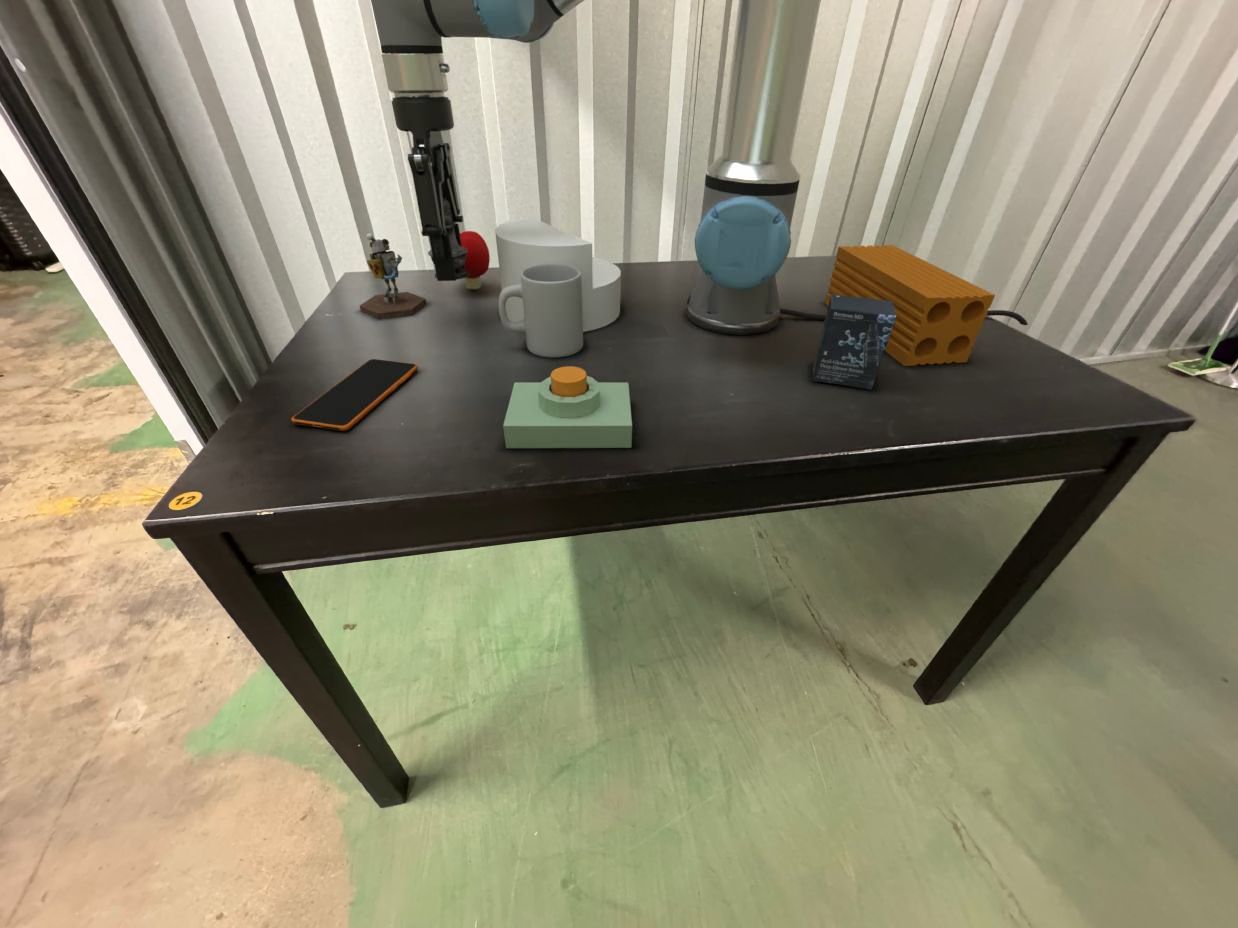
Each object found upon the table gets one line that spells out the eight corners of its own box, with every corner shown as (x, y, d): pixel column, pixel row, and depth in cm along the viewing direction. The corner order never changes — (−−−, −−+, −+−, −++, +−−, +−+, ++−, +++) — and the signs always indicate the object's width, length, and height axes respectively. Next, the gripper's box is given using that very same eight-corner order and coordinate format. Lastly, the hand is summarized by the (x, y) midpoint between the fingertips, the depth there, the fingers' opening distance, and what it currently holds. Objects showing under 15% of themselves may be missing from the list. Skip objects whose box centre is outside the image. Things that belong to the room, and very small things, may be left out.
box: (811, 382, 75) (830, 307, 69) (812, 365, 79) (830, 292, 73) (872, 391, 73) (897, 315, 67) (870, 373, 77) (893, 299, 71)
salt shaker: (461, 282, 83) (446, 195, 76) (425, 279, 84) (407, 193, 77) (477, 270, 88) (464, 187, 81) (443, 268, 89) (427, 186, 82)
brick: (966, 362, 81) (995, 295, 75) (904, 366, 80) (928, 298, 74) (875, 301, 101) (892, 245, 95) (824, 303, 100) (838, 246, 94)
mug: (578, 333, 87) (576, 262, 81) (587, 355, 81) (586, 280, 74) (502, 338, 85) (493, 266, 79) (504, 362, 79) (495, 285, 72)
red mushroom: (487, 299, 99) (480, 241, 93) (449, 299, 99) (439, 241, 93) (497, 283, 106) (491, 228, 100) (461, 282, 106) (453, 227, 100)
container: (643, 317, 93) (646, 234, 85) (537, 343, 84) (530, 253, 76) (581, 284, 106) (580, 210, 98) (485, 304, 97) (474, 223, 89)
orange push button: (587, 382, 64) (586, 366, 63) (586, 399, 61) (586, 382, 60) (552, 382, 64) (551, 366, 63) (550, 399, 61) (549, 382, 60)
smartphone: (290, 424, 64) (287, 418, 64) (372, 363, 77) (370, 358, 77) (348, 433, 63) (345, 426, 62) (421, 369, 76) (419, 363, 76)
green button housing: (627, 403, 70) (628, 367, 67) (631, 448, 62) (632, 409, 59) (516, 403, 69) (512, 367, 66) (505, 448, 61) (500, 409, 58)
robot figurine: (436, 308, 95) (423, 235, 88) (389, 323, 89) (370, 247, 82) (399, 293, 101) (384, 224, 94) (352, 307, 95) (332, 234, 88)
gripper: (431, 98, 65) (463, 293, 78) (463, 92, 80) (486, 256, 94) (366, 99, 65) (410, 294, 78) (411, 92, 80) (441, 256, 93)
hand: (451, 273), depth 86 cm, fingers closed on salt shaker, 6 cm apart
